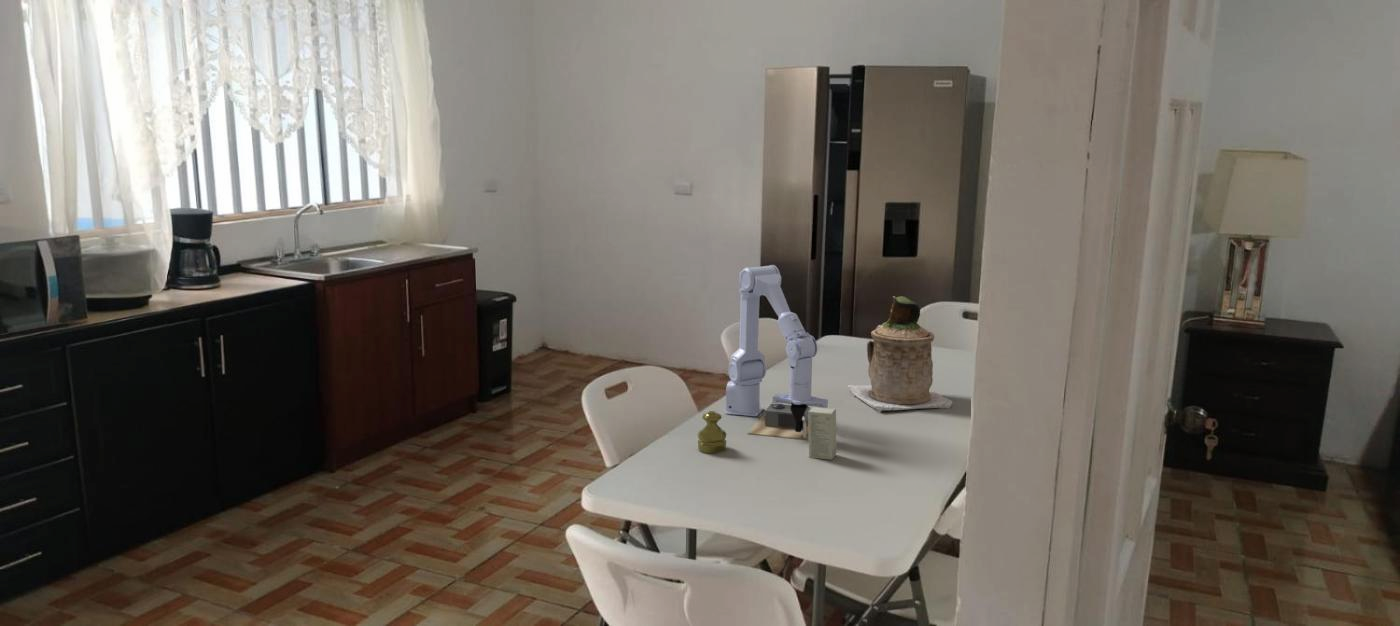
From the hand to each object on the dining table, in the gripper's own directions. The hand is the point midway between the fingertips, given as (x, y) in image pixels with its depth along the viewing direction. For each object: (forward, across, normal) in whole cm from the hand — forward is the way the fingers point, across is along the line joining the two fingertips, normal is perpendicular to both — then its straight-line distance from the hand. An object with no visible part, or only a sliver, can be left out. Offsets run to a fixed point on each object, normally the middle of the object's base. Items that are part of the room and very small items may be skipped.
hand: (799, 430), depth 258 cm
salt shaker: (+2, -19, -16) cm, 25 cm away
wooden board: (+2, -5, +6) cm, 8 cm away
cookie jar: (+2, +21, +42) cm, 47 cm away
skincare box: (+2, +9, -13) cm, 16 cm away
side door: (+1, +1, +2) cm, 2 cm away
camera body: (+2, -5, +9) cm, 10 cm away
